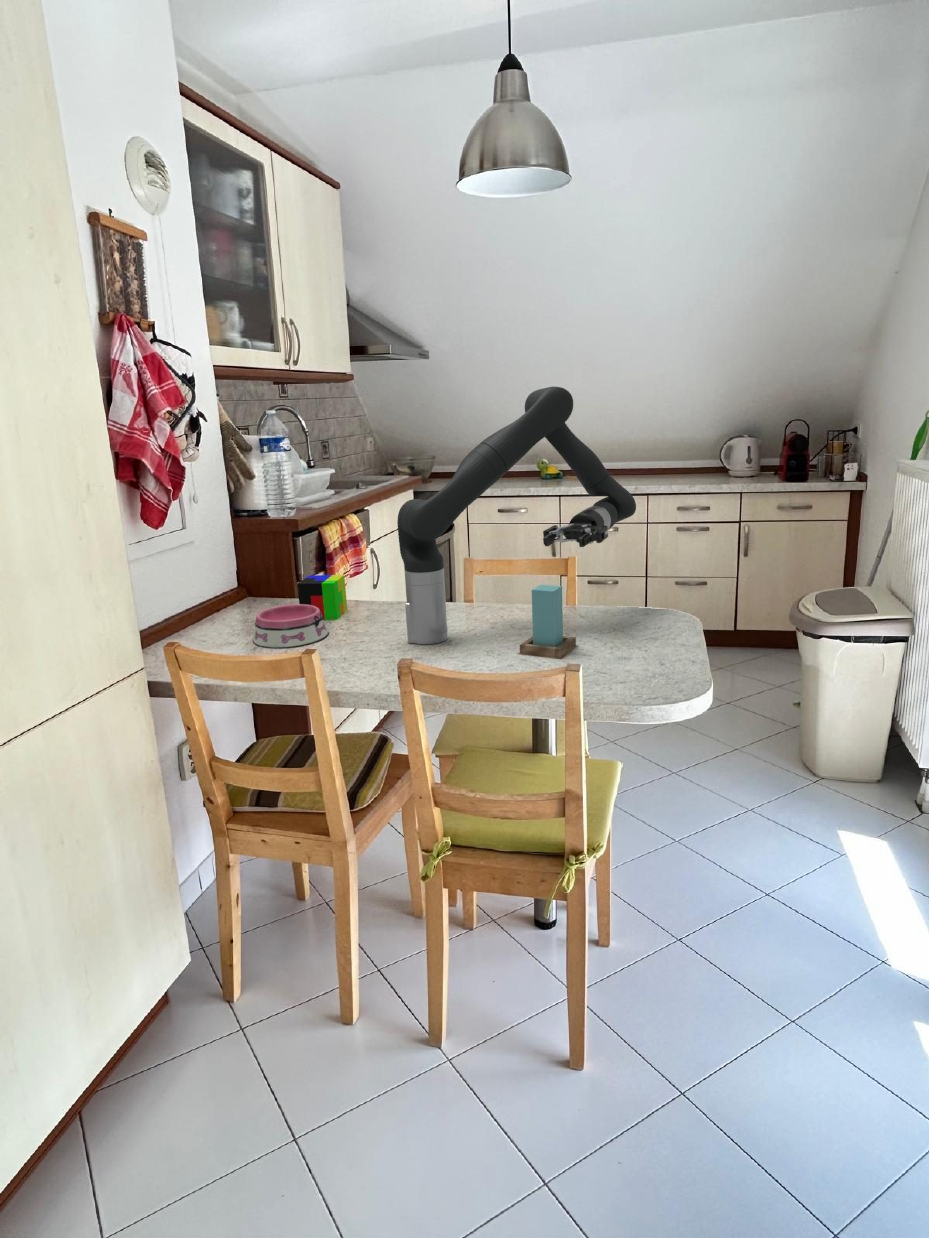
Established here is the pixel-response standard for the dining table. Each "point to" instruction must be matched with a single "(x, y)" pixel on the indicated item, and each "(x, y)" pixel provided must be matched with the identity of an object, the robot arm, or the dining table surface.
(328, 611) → the puzzle toy
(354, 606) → the dining table surface
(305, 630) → the dog bowl
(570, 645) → the square wooden tray
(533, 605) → the block
